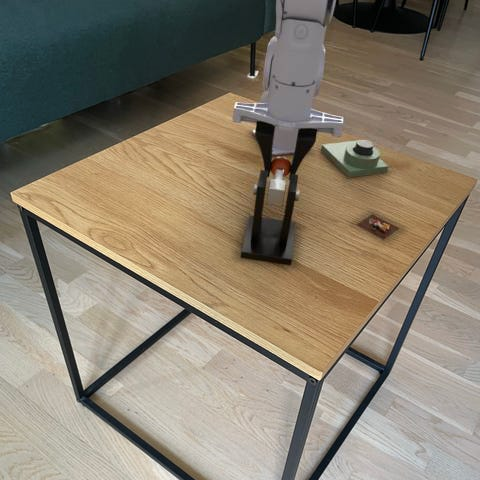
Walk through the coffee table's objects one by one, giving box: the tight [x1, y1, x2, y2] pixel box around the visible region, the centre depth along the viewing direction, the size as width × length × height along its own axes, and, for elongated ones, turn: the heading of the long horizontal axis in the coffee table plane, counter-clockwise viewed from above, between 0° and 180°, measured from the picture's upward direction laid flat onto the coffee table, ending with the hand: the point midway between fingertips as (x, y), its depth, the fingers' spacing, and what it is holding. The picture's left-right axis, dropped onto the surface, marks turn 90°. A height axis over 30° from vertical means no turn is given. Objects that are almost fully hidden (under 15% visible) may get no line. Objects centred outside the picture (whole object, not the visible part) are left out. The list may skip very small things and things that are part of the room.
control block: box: [320, 140, 389, 178], centre depth 89 cm, size 10×8×3 cm
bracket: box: [240, 169, 301, 266], centre depth 67 cm, size 9×7×10 cm
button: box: [354, 139, 375, 156], centre depth 86 cm, size 3×3×2 cm
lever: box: [265, 155, 292, 208], centre depth 68 cm, size 11×3×3 cm, turn 172°
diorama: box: [356, 213, 400, 241], centre depth 75 cm, size 3×4×2 cm
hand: (279, 175), depth 72 cm, fingers closed on lever, 3 cm apart
